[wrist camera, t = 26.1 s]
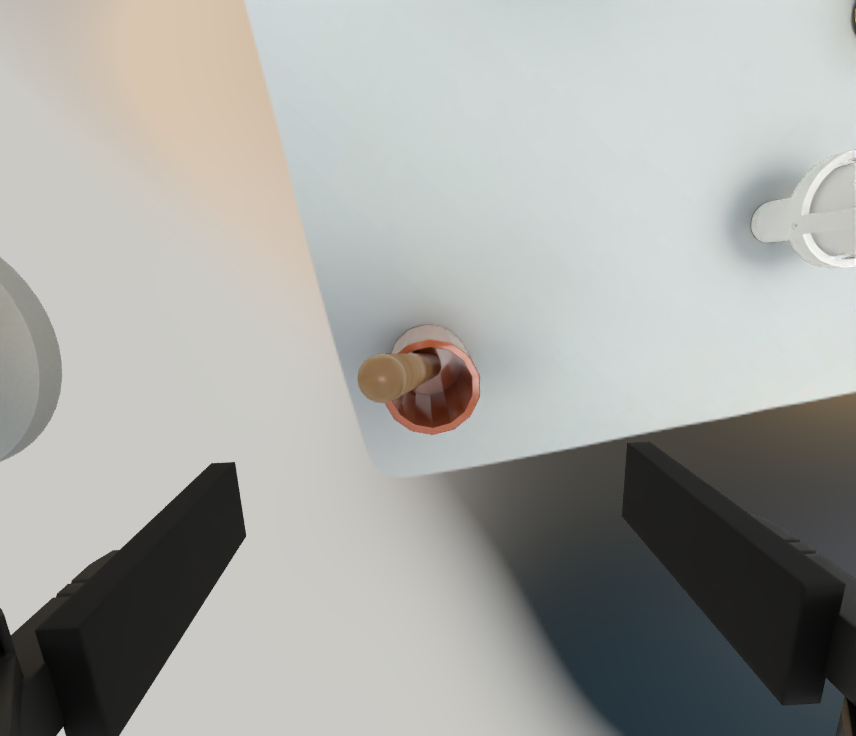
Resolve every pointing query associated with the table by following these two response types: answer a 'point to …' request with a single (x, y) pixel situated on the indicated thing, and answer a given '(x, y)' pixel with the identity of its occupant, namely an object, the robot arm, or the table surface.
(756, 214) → the white cylindrical cage
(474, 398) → the utensil pot
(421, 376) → the stick
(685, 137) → the table surface
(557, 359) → the table surface
